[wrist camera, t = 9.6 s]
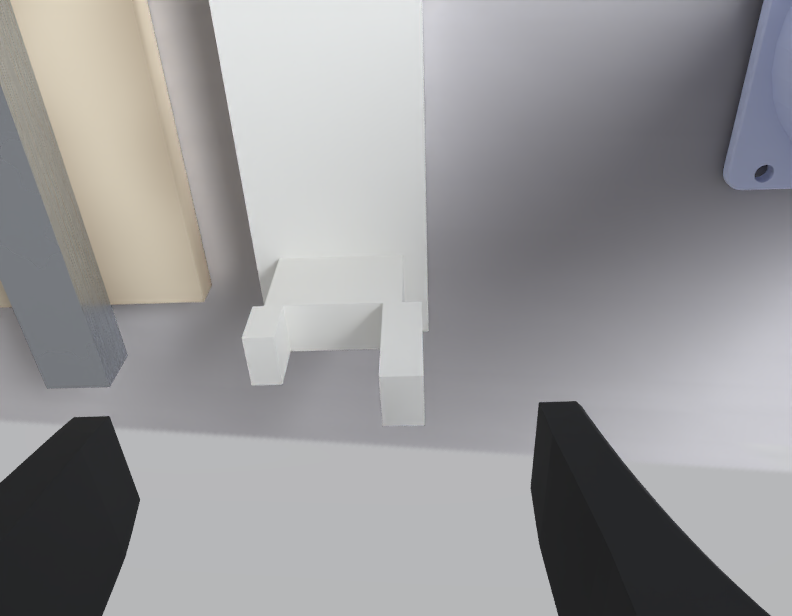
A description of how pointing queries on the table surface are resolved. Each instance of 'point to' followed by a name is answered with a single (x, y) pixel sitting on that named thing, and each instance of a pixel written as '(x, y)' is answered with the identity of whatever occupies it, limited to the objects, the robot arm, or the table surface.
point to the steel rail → (47, 237)
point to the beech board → (118, 145)
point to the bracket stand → (332, 182)
